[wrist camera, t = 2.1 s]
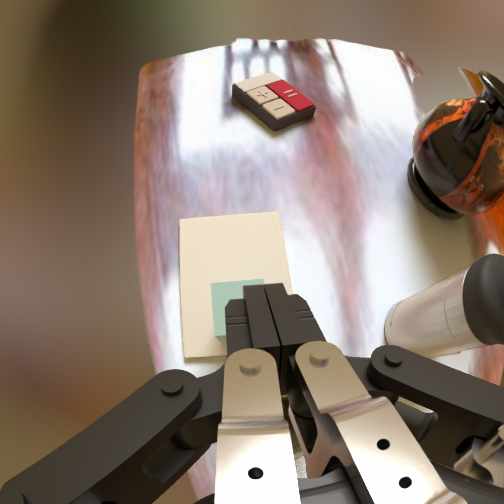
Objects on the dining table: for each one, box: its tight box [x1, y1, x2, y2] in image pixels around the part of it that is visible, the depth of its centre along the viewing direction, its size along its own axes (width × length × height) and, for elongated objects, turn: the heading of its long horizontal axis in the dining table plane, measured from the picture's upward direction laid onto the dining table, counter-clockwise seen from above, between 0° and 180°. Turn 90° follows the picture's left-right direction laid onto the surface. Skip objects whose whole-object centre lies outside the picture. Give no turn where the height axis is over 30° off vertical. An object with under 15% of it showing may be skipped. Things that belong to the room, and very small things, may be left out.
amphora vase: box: [408, 70, 504, 220], centre depth 34 cm, size 22×22×28 cm
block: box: [211, 279, 264, 346], centre depth 29 cm, size 4×4×14 cm
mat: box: [180, 211, 293, 358], centre depth 38 cm, size 20×15×1 cm
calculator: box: [232, 72, 316, 131], centre depth 52 cm, size 11×4×15 cm
